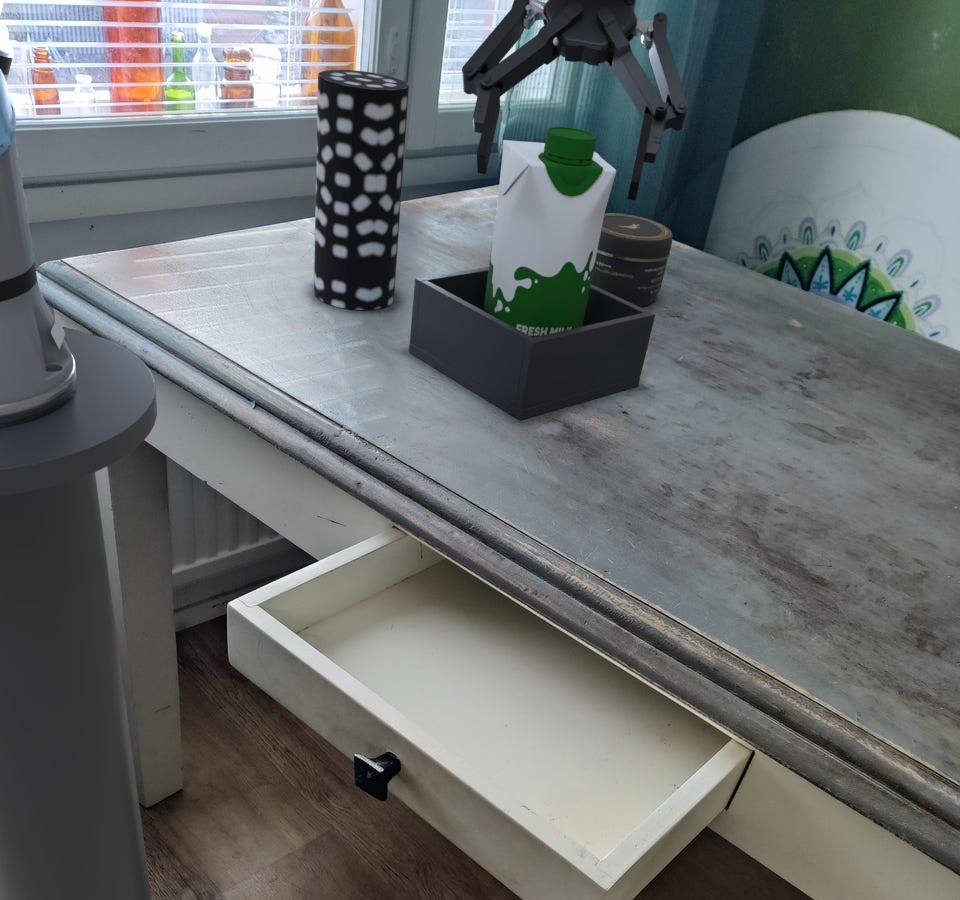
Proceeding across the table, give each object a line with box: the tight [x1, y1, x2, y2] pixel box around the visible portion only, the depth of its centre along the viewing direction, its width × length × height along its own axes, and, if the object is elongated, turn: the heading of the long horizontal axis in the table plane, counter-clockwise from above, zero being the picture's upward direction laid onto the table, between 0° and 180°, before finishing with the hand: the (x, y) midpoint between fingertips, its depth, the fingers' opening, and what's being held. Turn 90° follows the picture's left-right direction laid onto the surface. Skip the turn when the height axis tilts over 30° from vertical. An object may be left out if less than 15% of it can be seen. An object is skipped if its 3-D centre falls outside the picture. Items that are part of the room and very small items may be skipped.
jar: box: [591, 212, 674, 308], centre depth 111 cm, size 10×10×8 cm
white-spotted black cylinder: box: [313, 69, 410, 311], centre depth 97 cm, size 8×8×20 cm
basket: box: [408, 266, 656, 421], centre depth 91 cm, size 16×16×7 cm
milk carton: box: [484, 126, 617, 338], centre depth 87 cm, size 9×9×20 cm
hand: (556, 178), depth 87 cm, fingers open, 13 cm apart
